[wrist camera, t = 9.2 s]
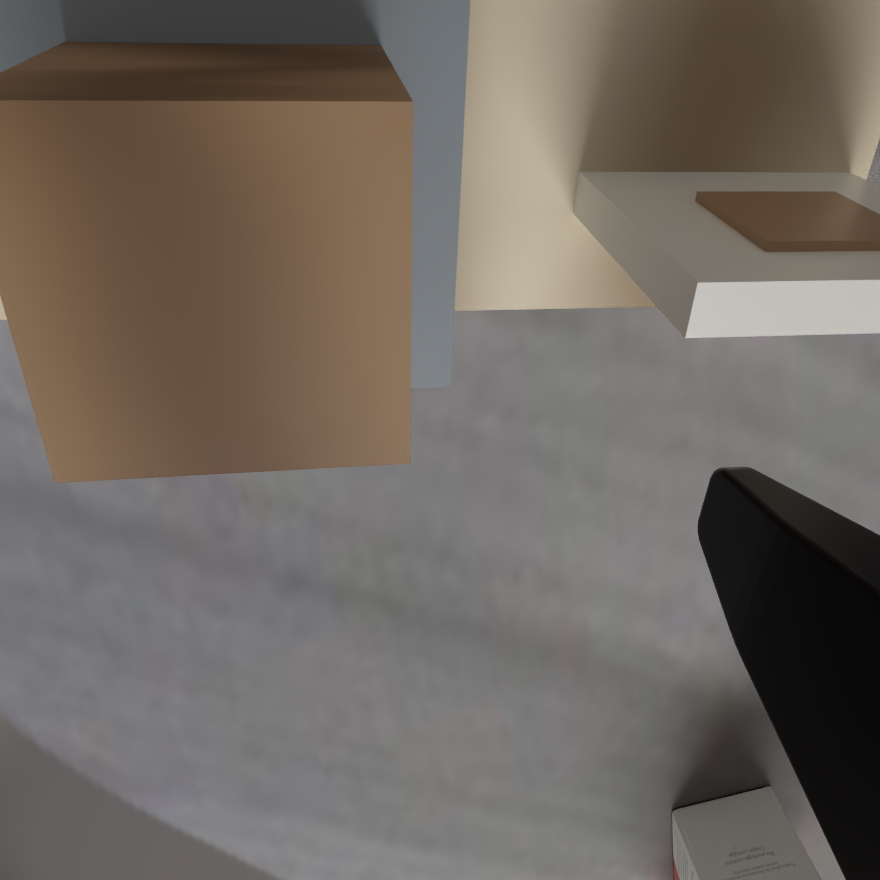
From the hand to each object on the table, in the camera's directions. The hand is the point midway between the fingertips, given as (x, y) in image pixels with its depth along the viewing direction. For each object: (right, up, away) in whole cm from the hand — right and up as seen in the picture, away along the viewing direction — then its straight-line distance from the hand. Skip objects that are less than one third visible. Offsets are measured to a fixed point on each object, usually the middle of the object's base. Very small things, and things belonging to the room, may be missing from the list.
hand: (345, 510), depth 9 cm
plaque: (+8, +7, +10) cm, 15 cm away
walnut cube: (-2, +5, +5) cm, 8 cm away
